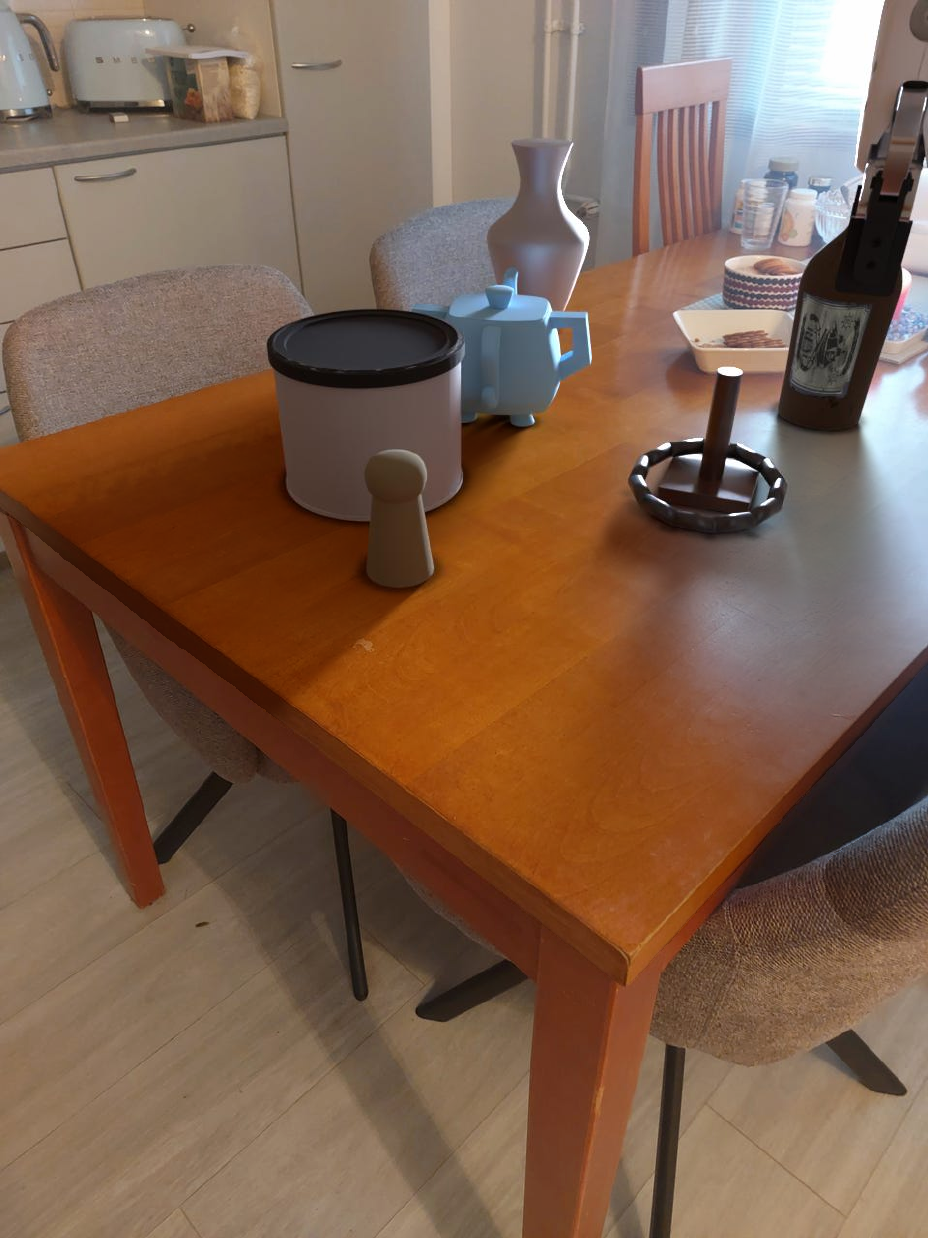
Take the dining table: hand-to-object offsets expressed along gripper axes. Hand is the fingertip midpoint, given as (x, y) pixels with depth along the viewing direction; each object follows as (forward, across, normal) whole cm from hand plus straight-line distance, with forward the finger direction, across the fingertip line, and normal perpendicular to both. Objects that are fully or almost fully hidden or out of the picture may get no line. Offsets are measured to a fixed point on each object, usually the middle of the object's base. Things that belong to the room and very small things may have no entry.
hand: (865, 271), depth 55 cm
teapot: (+28, +37, +37) cm, 60 cm away
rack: (+28, +24, +9) cm, 38 cm away
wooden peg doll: (+28, -2, +32) cm, 43 cm away
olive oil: (+28, +48, 0) cm, 56 cm away
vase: (+28, +66, +42) cm, 83 cm away
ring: (+27, +22, +9) cm, 36 cm away
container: (+28, +13, +42) cm, 52 cm away
